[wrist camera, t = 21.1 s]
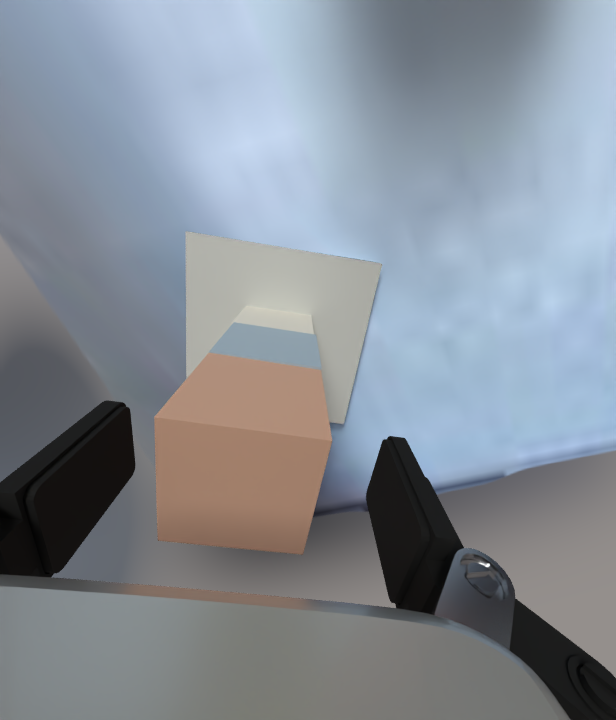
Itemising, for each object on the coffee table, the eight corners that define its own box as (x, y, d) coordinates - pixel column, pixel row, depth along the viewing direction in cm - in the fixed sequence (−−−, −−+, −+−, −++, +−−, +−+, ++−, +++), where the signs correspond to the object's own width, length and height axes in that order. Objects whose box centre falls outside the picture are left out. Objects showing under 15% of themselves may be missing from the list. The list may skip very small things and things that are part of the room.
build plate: (378, 262, 22) (382, 264, 21) (342, 416, 27) (343, 424, 26) (191, 232, 21) (185, 231, 20) (191, 398, 26) (186, 405, 25)
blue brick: (316, 334, 17) (321, 367, 13) (303, 404, 19) (304, 455, 15) (233, 322, 17) (208, 351, 12) (228, 394, 19) (205, 444, 14)
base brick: (311, 315, 22) (314, 334, 17) (301, 373, 24) (302, 404, 19) (246, 305, 22) (231, 322, 17) (242, 365, 24) (227, 395, 19)
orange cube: (321, 369, 13) (332, 440, 8) (302, 456, 15) (302, 554, 10) (208, 352, 12) (154, 417, 8) (204, 444, 14) (158, 540, 10)
